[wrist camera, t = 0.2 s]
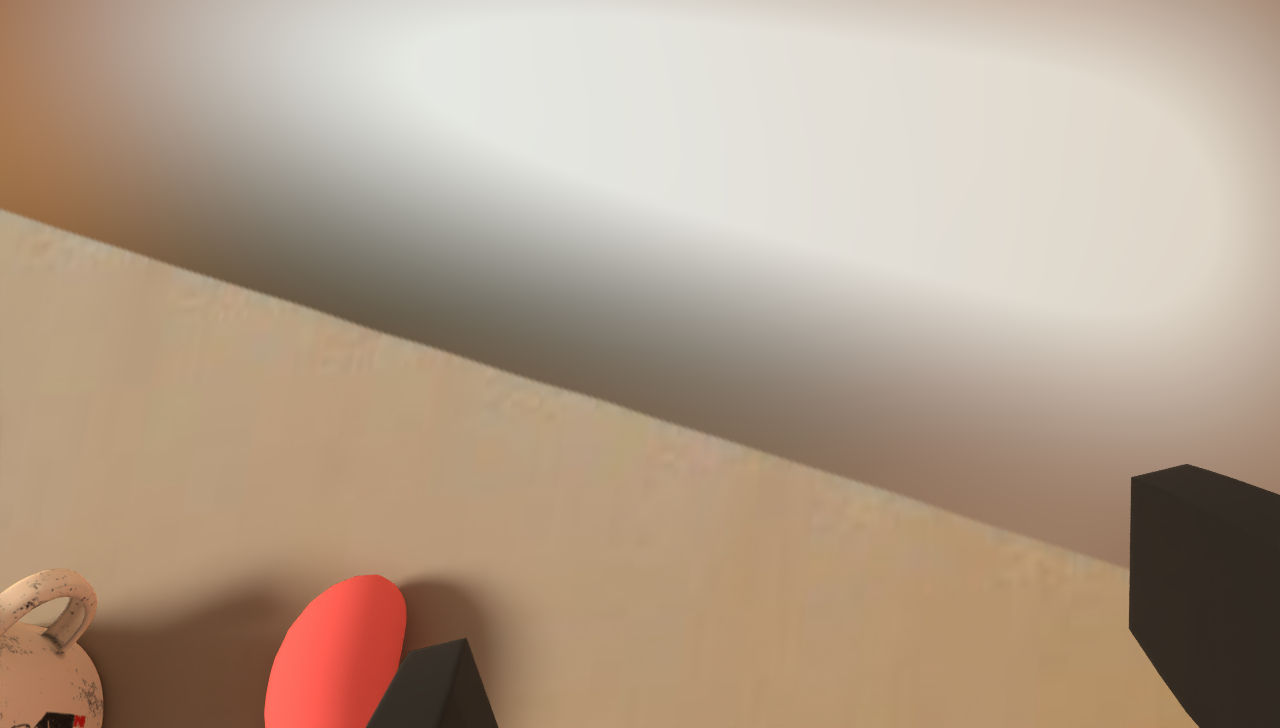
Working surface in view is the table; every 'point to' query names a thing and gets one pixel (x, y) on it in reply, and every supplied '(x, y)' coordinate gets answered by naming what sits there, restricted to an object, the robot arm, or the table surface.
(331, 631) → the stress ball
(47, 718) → the teacup with lid
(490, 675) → the table surface
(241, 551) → the table surface
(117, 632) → the table surface
